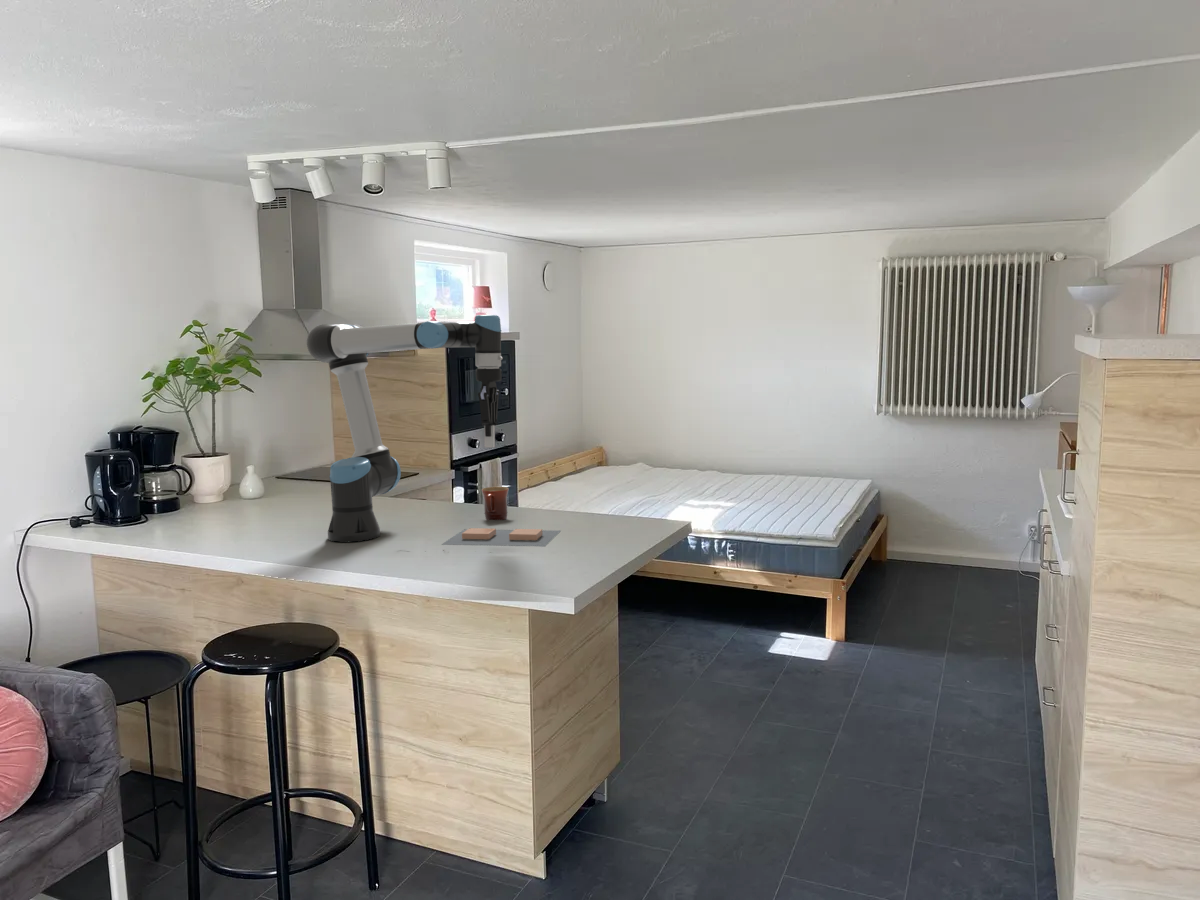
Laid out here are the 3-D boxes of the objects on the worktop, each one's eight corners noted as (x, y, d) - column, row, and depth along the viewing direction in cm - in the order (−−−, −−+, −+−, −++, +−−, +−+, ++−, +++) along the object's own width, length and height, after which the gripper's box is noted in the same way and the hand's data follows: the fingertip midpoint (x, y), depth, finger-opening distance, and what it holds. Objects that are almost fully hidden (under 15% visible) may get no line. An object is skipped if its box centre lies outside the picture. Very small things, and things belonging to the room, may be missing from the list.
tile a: (469, 534, 257) (462, 539, 251) (469, 528, 257) (461, 533, 250) (496, 534, 256) (488, 540, 249) (495, 528, 256) (488, 533, 249)
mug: (487, 517, 289) (486, 486, 287) (513, 517, 287) (512, 486, 286) (475, 524, 277) (474, 492, 276) (501, 525, 275) (500, 493, 274)
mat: (441, 548, 245) (441, 544, 245) (464, 532, 265) (464, 529, 265) (545, 550, 240) (545, 546, 240) (561, 534, 260) (561, 530, 260)
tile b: (515, 535, 255) (509, 540, 248) (515, 528, 255) (509, 534, 248) (542, 535, 254) (536, 540, 247) (542, 529, 253) (536, 534, 246)
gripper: (493, 368, 250) (494, 450, 253) (507, 367, 263) (508, 444, 266) (468, 368, 252) (470, 449, 255) (483, 366, 265) (484, 444, 268)
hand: (489, 447), depth 261 cm, fingers closed
